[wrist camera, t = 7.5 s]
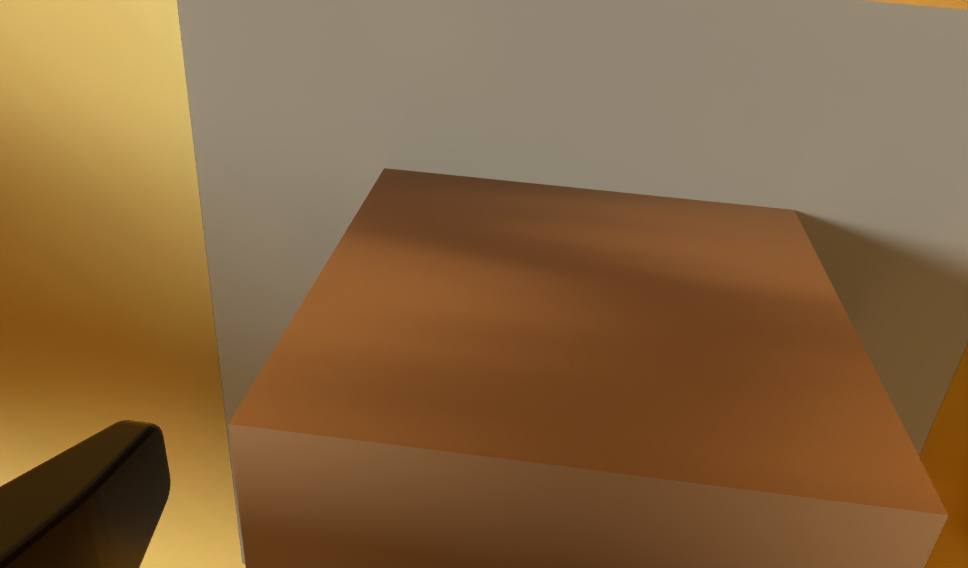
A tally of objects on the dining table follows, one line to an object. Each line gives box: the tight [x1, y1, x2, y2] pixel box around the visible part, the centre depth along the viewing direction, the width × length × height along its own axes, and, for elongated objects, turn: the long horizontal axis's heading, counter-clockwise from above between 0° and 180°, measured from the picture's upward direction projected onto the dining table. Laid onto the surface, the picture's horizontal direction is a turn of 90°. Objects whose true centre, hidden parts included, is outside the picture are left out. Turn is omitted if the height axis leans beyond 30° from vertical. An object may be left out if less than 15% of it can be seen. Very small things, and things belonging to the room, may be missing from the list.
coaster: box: [177, 0, 968, 564], centre depth 12 cm, size 10×10×1 cm
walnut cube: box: [228, 168, 949, 568], centre depth 9 cm, size 5×5×5 cm
